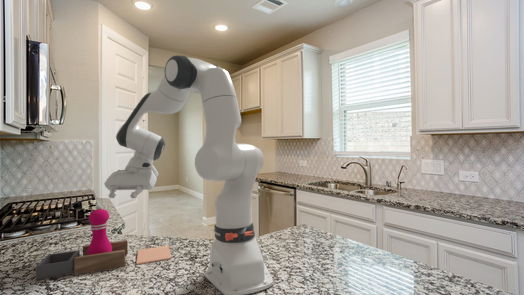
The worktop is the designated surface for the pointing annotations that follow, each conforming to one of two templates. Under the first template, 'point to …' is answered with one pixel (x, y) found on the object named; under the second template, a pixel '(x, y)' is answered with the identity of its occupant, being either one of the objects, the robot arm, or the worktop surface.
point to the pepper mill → (99, 232)
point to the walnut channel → (102, 258)
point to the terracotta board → (153, 254)
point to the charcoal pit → (56, 265)
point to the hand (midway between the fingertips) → (121, 197)
